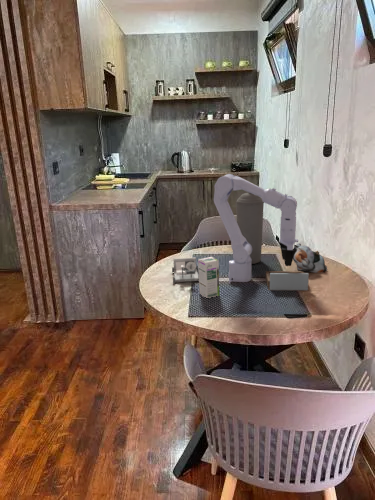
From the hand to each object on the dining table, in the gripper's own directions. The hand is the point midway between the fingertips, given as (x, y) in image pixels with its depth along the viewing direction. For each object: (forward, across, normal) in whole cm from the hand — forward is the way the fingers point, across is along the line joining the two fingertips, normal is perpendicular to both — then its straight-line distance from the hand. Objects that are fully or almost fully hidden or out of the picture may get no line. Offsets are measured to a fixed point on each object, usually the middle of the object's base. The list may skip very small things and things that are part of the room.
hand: (286, 262), depth 150 cm
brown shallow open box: (+9, -2, 0) cm, 10 cm away
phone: (+10, -21, +2) cm, 24 cm away
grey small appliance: (+10, +7, +41) cm, 43 cm away
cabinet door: (+8, -8, 0) cm, 12 cm away
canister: (+10, +30, +13) cm, 34 cm away
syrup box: (+10, -11, +30) cm, 33 cm away
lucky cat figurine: (+10, +17, -12) cm, 23 cm away
